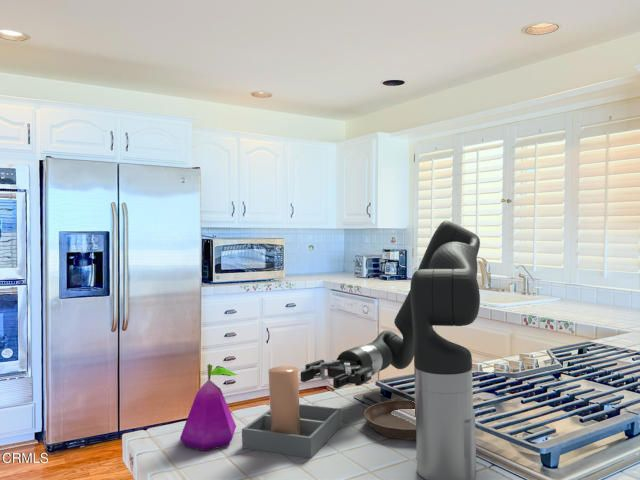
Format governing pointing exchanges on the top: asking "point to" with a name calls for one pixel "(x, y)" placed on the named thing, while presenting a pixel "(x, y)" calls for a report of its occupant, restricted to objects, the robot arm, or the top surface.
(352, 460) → the top surface
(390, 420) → the object
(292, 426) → the peach pillar candle
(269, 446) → the divided storage tray
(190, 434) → the pear
